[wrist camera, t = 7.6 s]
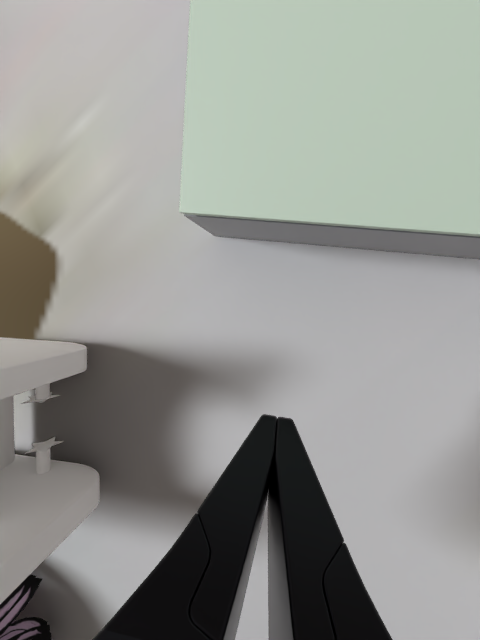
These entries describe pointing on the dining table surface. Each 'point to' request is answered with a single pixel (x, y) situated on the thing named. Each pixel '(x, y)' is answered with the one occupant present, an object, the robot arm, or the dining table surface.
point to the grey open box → (342, 236)
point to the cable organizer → (37, 464)
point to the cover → (334, 113)
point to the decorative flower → (26, 634)
